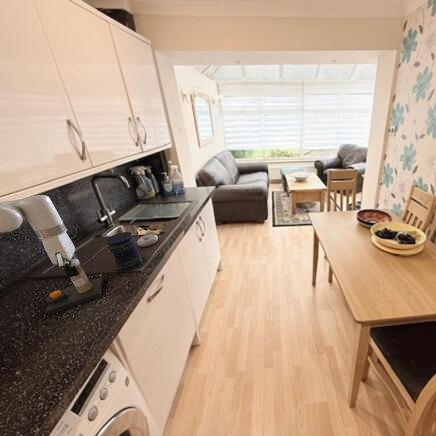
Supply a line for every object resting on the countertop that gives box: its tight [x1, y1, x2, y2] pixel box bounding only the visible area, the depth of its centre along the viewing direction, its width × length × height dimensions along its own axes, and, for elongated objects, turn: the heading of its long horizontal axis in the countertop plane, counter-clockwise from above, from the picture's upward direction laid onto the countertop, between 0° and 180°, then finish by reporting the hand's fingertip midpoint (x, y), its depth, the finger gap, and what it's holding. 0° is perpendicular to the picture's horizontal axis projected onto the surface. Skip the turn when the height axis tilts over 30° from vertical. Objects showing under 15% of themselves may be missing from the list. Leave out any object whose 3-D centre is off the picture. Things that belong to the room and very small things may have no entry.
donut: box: [136, 233, 159, 248], centre depth 128 cm, size 10×3×10 cm
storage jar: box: [105, 231, 144, 272], centre depth 108 cm, size 10×10×15 cm
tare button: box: [49, 289, 62, 299], centre depth 90 cm, size 3×3×2 cm
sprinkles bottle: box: [65, 258, 92, 293], centre depth 92 cm, size 5×5×13 cm
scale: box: [45, 276, 105, 316], centre depth 93 cm, size 16×12×4 cm
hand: (75, 271), depth 91 cm, fingers closed on sprinkles bottle, 4 cm apart
